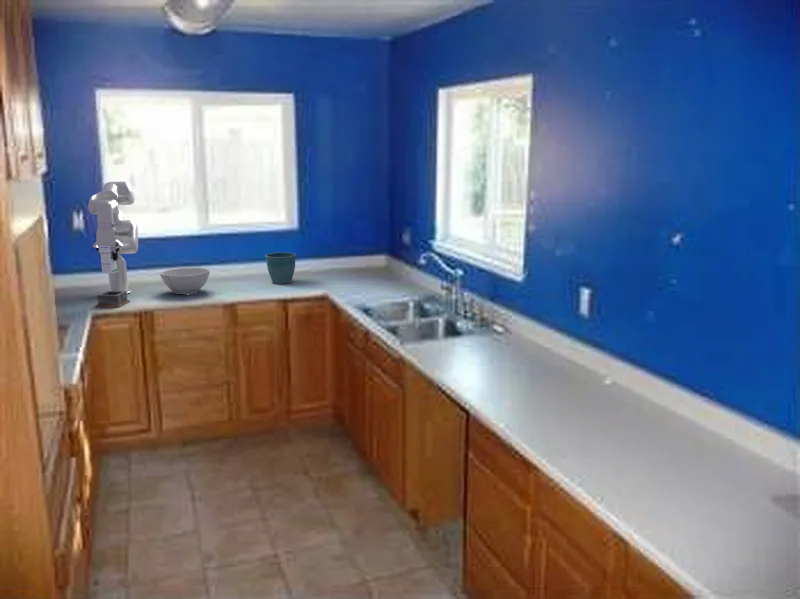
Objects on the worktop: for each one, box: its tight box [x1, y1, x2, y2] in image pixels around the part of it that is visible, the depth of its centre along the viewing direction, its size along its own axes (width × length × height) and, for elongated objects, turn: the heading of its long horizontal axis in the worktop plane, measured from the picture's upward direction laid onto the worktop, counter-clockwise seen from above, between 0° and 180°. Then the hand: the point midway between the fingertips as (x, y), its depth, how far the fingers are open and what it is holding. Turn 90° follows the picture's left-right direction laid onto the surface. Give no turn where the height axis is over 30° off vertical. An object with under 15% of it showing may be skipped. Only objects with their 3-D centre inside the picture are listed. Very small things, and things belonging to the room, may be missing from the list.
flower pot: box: [264, 251, 297, 285], centre depth 432 cm, size 18×18×17 cm
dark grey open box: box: [95, 290, 131, 309], centre depth 377 cm, size 13×13×6 cm
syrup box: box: [99, 245, 118, 275], centre depth 372 cm, size 6×6×14 cm
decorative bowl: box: [159, 266, 211, 295], centre depth 404 cm, size 27×27×12 cm
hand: (109, 259), depth 372 cm, fingers closed on syrup box, 6 cm apart
